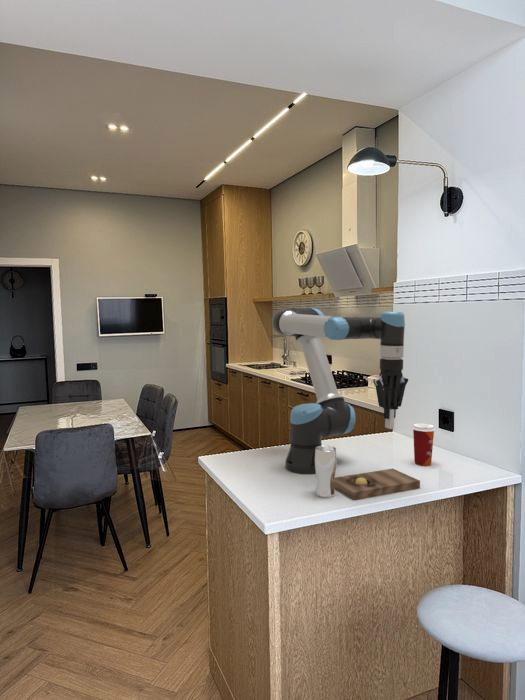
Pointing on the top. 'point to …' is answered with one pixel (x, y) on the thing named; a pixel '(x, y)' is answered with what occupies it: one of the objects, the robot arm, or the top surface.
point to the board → (375, 484)
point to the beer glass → (325, 470)
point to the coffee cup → (423, 443)
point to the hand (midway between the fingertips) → (389, 427)
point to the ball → (361, 481)
